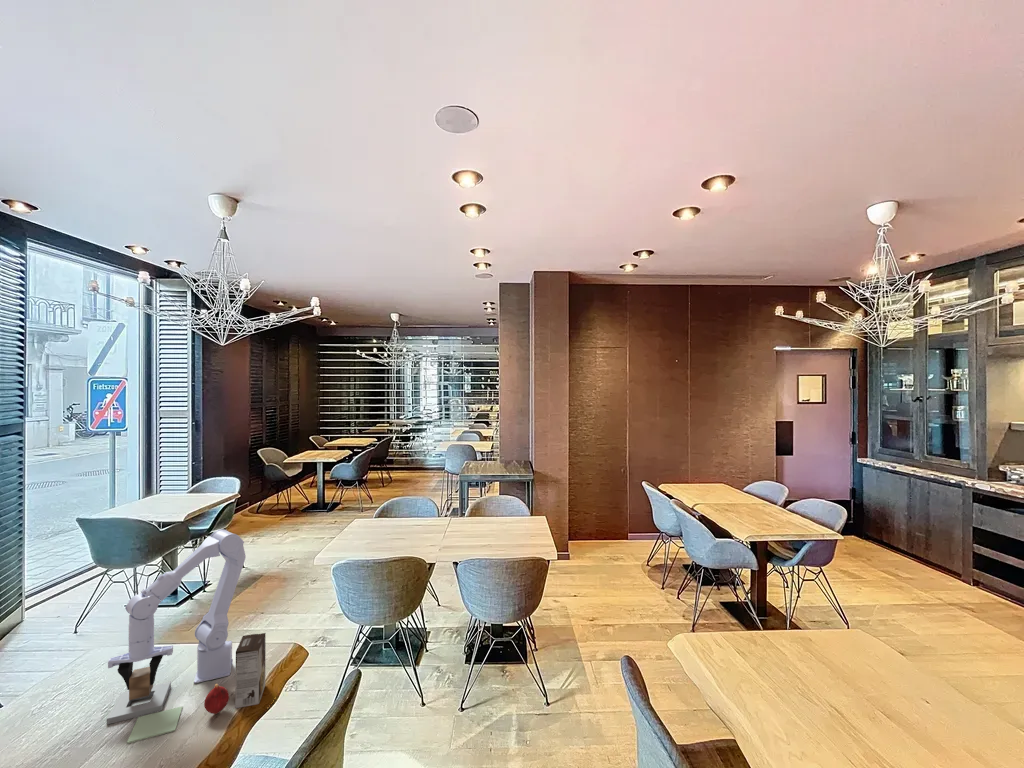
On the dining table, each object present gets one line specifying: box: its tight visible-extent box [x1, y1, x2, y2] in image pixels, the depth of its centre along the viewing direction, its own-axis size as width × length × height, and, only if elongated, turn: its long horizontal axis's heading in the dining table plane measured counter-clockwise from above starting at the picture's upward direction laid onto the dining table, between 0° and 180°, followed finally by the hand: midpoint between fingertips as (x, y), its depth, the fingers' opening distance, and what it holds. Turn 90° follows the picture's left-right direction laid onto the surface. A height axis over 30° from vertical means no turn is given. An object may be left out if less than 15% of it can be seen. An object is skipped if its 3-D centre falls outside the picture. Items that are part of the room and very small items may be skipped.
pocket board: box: [106, 681, 172, 725], centre depth 132 cm, size 12×12×2 cm
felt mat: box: [126, 706, 183, 744], centre depth 124 cm, size 10×10×1 cm
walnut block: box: [128, 666, 154, 700], centre depth 133 cm, size 4×4×6 cm
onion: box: [203, 683, 230, 715], centre depth 129 cm, size 6×6×8 cm
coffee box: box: [234, 632, 267, 709], centre depth 136 cm, size 9×6×16 cm
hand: (141, 685), depth 133 cm, fingers closed on walnut block, 4 cm apart
